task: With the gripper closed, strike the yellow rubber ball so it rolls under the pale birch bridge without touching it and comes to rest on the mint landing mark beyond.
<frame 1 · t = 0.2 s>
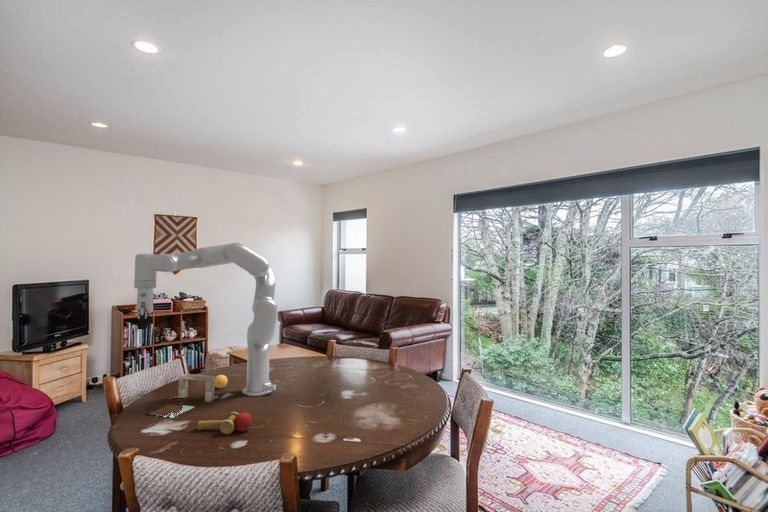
hand: (143, 327, 156), 31 cm above the table, tool pointing down, fingers open, 9 cm apart
bridge: (196, 399, 164), on the table
ball: (220, 381, 180), on the table
kendama: (224, 431, 133), on the table
landing mark: (170, 410, 150), on the table
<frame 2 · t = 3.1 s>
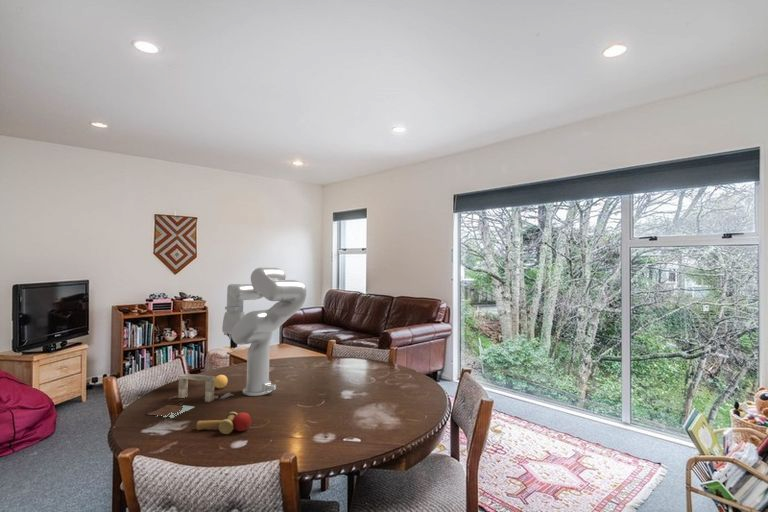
hand: (233, 347, 189), 17 cm above the table, tool pointing down, fingers closed
nothing on the table moved.
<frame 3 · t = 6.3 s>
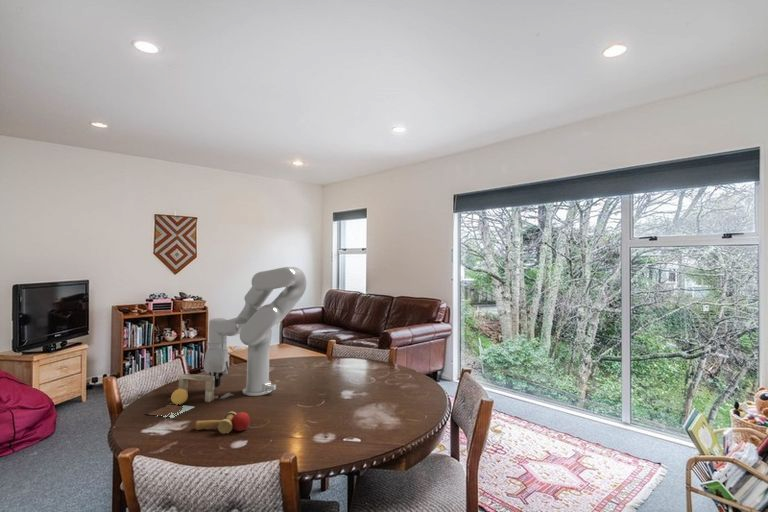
hand: (216, 386, 177), 2 cm above the table, tool pointing down, fingers closed
ball: (179, 396, 158), on the table
everything else where it was.
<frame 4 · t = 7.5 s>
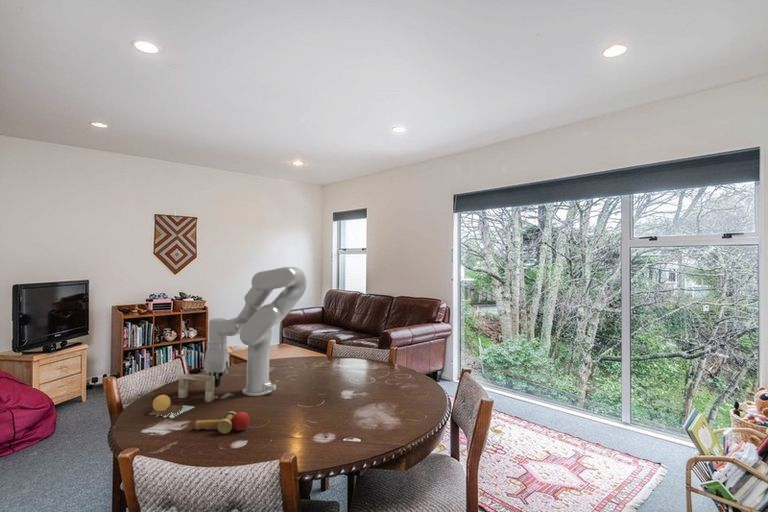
hand: (216, 386, 177), 2 cm above the table, tool pointing down, fingers closed
ball: (161, 403, 150), on the table
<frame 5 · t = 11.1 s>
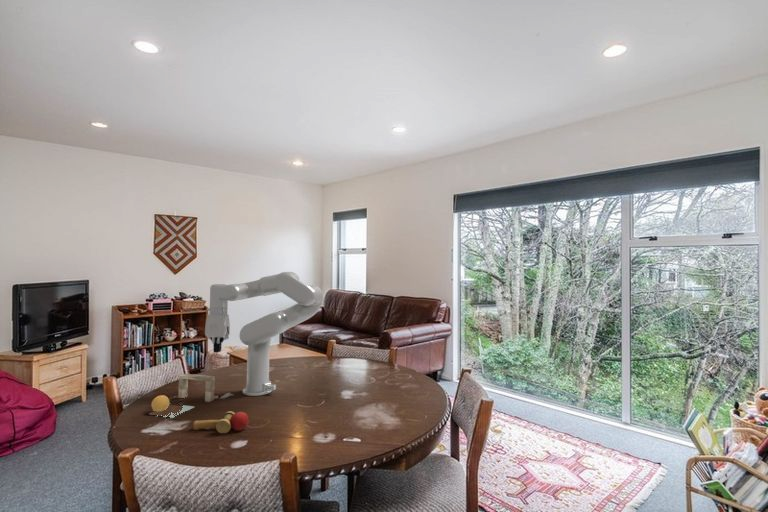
hand: (217, 351, 177), 17 cm above the table, tool pointing down, fingers closed
at the end: ball 3.6 cm from the landing mark (horizontally); ball never touched bridge; ball at rest at the end (0.0 cm/s) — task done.
